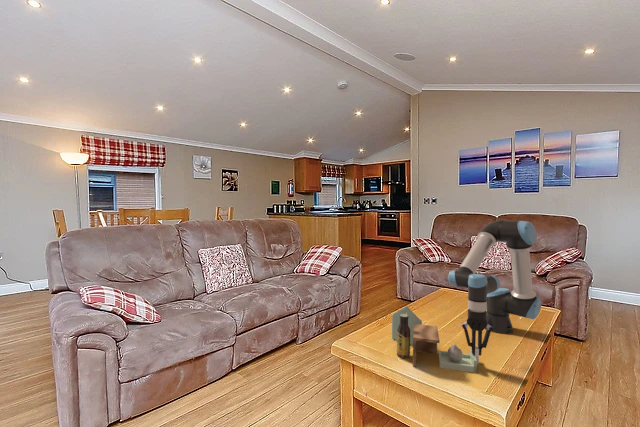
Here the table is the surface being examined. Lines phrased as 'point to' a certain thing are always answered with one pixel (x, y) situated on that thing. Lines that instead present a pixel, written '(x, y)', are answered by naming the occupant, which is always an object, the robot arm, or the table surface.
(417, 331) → the wooden open box
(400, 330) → the sauce bottle
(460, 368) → the tray
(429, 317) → the table surface
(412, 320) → the grey piece
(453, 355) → the figurine
